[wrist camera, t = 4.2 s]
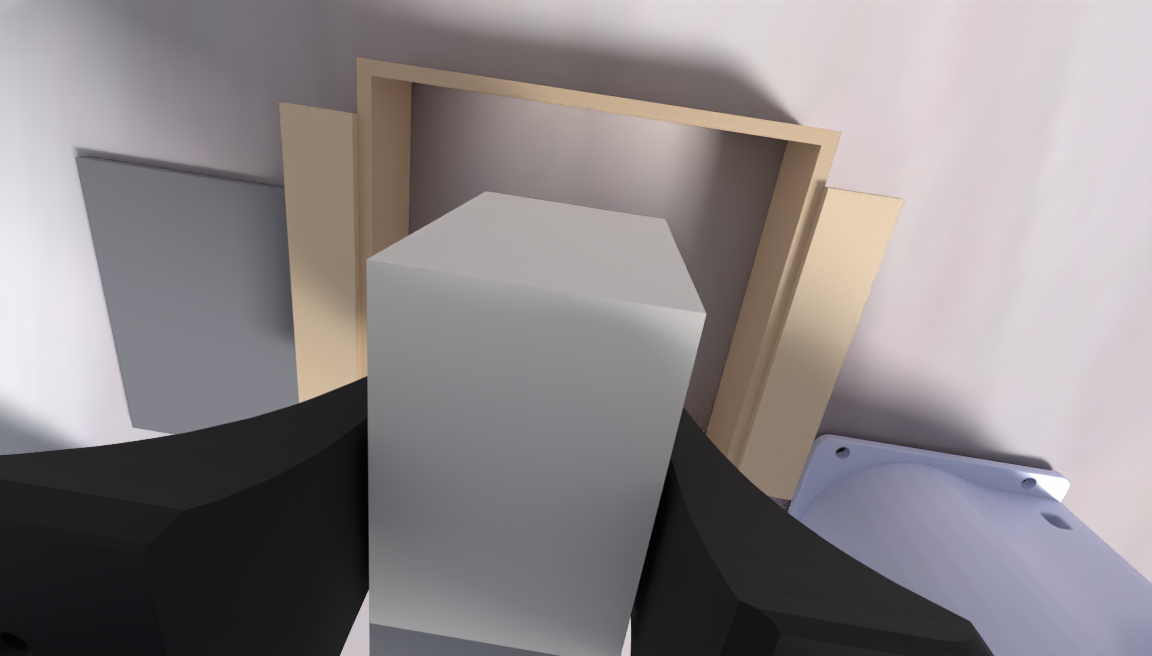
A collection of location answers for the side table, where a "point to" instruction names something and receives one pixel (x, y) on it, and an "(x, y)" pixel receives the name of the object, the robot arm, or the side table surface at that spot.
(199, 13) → the side table surface
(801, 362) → the carton
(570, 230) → the capped box
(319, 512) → the robot arm
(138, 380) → the mat
